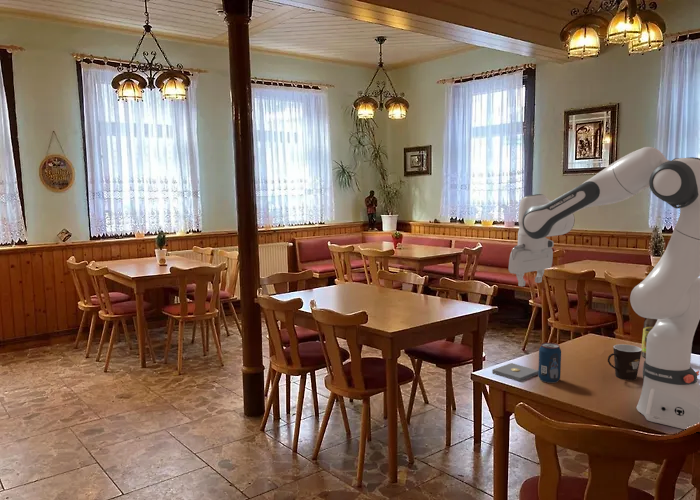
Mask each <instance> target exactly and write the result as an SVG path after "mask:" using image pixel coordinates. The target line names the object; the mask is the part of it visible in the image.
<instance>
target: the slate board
mask: <svg viewBox="0 0 700 500" xmlns="http://www.w3.org/2000/svg"><path fill="white" fill-rule="evenodd" d="M491 373H492V374H493V375H498V376H501V377H504V378H507V379H509V380H510V379H511V380H514V381H517V382H521V381H525V380H528V379H529V378H532V377H535V376H538V369H534V368H530V367H527V366H523V365H520V364H518V363H517V364H516V363H513V362H510V363H507V364H505V365H502V366H498V367H496V368H493V369H492V372H491Z"/></svg>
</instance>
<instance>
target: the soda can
mask: <svg viewBox="0 0 700 500" xmlns="http://www.w3.org/2000/svg"><path fill="white" fill-rule="evenodd" d="M561 364H562V349H561V348H560V344H558V343H555V342H543V343H541V344H540V347H539V348H538V369H537V370H538V375H537V376H538V378H539V380H540V381H541V382H544V383H546V382H547V383H548V384H556V383H558V382H559V380H560V379H561V372H562V371H561V370H562V369H561V367H562V365H561ZM547 383H546V384H547Z"/></svg>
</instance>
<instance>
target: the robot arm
mask: <svg viewBox="0 0 700 500" xmlns="http://www.w3.org/2000/svg"><path fill="white" fill-rule="evenodd" d="M646 189H650V190H651V192H652V194H653V195H654V196H655V197H656V198H658V199H659V200H661V201H663V202H665V203H666V204H668V205H669V206H671V207H672V208H674V209H679V210H680V211H679V215H678V219H677V222H676V223H675V226H674V228H673V232H672V233H671V236H670V239H669V241H668V243H667V246H666V248H665V251H664V253H663V254H662V256H661V257H660V259H659V260H658V262H657V263H656V264H655V266H654V267H652V268H653V269H652V270H650V272H649V274H648V275H647V276H646V277H645V278H644V279H643V280H642V281H640V283H638V284H637V285H635V286H634V287H633V288H632V290H631V292H630V296H629V302H630V306H631V308H632V310H633V311H634V312H635V314H637V315H638V316H639V317H641V318H644V319H647V318H650V319H658V320H657V322H656V324H655V326H654V327H653V328H652V330H651V331H650V332H649V333H648V335H647V343H646V358H645V360H644V361H643V367H642V379H643V383H642V389H641V392H640V396H639V400H638V401H637V405H636V410H637V411H638V412H639V413H641V415H643V416H644V417H645V419H646V421H649V422H651V423H656V424H661V425H664V426H669V427H673V428H676V429H677V428H678V429H682V430H685V428H687V427H689V426H692V425H694V424H696V423H698V422H700V383H699V382H698V376H699V375H700V371H699V370H697V371H695V370H694V369H693V368H692V367H691V358H692V347H693V341H694V336H695V333H696V330H697V328H698V325H699V323H700V157H693V156H692V157H680V158H679V157H676V158H673V159H672V160H669V159H668V158H666V157H665V155H664V154H663V153H662V152H661V151H660V150H659V149H657V148H656V147H653V146H644V147H642V148H639V149H637V150H634V151H631V152H629V153H628V154H626V155H624V156H622V157H620V158H618V159H617V160H615V161H614V162H612V163H610V164H609V165H607V166H606V167H605V168H604V169H602V170H600V171H598V172H597V173H596V174H595V175H593V176H592V177H590V178H588V179H587V180H585V181H584V182H583V183H581V184H579V185H577V186H576V187H574V188H572V189H571V190H569V191H567V192H565V193H563V194H562V195H559V196H558V197H556V198H555V199H553V200H551V199H549V198H548V197H547V196H546V195H545V194H542V193H541V194H540V193H539V194H537V193H535V194H529V195H525V196H523V197H522V198H521V200H520V201H519V205H518V206H519V208H518V215H517V216H518V218H517V219H518V220H517V221H518V231H517V244H516V245H514V247H512V249H511V252H510V254H509V259H508V273H510V274H514V275H515V276H516V280H517V282H518V286H519V287H525V286H526V280H525V279H524V277H525V274H527V273H530V272H531V273H532V272H536V276H535V277H534V283H536V284H539V283H542V282H543V281H542V280H543V276H544V273H545V270H546V269H551V268H552V265H553V260H554V259H553V257H554V252H553V248H554V246H555V243H554V242H555V241H553V240H551V239H549V238H548V237H555V236H556V237H557V236H562V235H565V234H568V233H570V232H571V231H572V230H573V228H574V226H575V215H574V214H575V213H577V212H579V211H581V210H584V209H587V208H592V207H598V206H599V207H600V206H607V205H613V204H618V203H620V202H623V201H626V200H628V199H631V198H632V197H634V196H636V195H638V194H640V193H642V192H643V191H645V190H646Z"/></svg>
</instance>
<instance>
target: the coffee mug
mask: <svg viewBox="0 0 700 500" xmlns="http://www.w3.org/2000/svg"><path fill="white" fill-rule="evenodd" d="M612 348H613V353H609V356H608V357H607V363H608V365H609V366H610V367H611V368H612V369H614V373H615V377H616V378H617V379H620V380H625V381H636V380H637V378H638V372H639V368H640V362H641V356H642V355H641V354H642V347H639V346H636V345H633V344H623V343H622V344H619V343H618V344H615V345H613V347H612ZM611 357H613V358H614V359H613V360H614V361H613V362H614V365H613V364H612V363H611Z"/></svg>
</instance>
